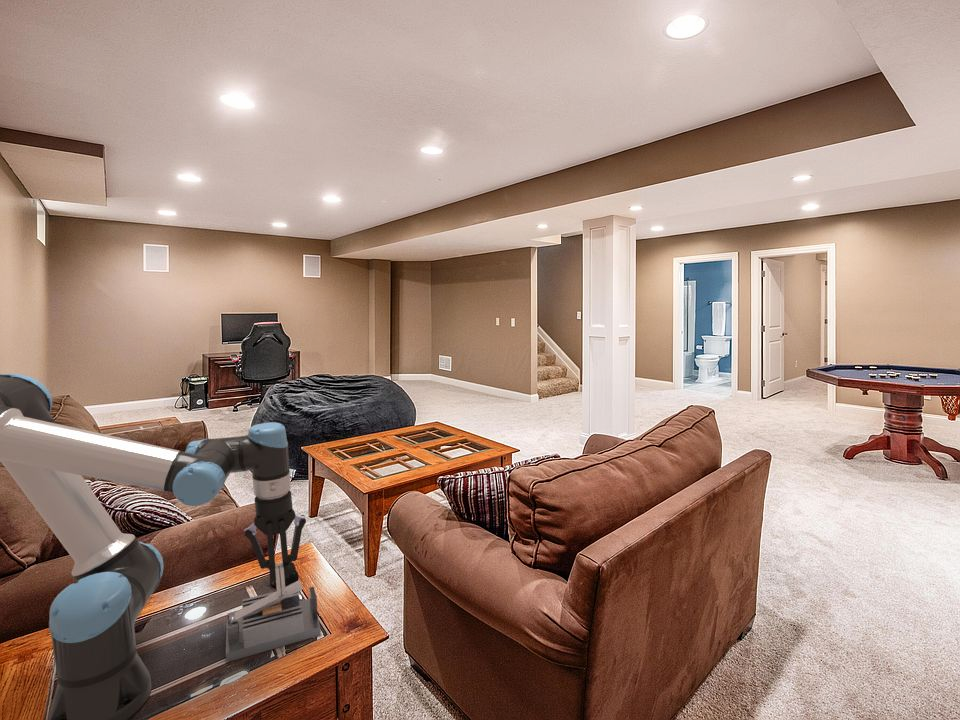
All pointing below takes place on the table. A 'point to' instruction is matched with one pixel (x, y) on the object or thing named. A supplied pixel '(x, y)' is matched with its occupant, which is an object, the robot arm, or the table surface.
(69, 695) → the robot arm
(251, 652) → the heatsink
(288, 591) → the grey flat bar
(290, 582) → the tape measure
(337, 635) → the table surface
